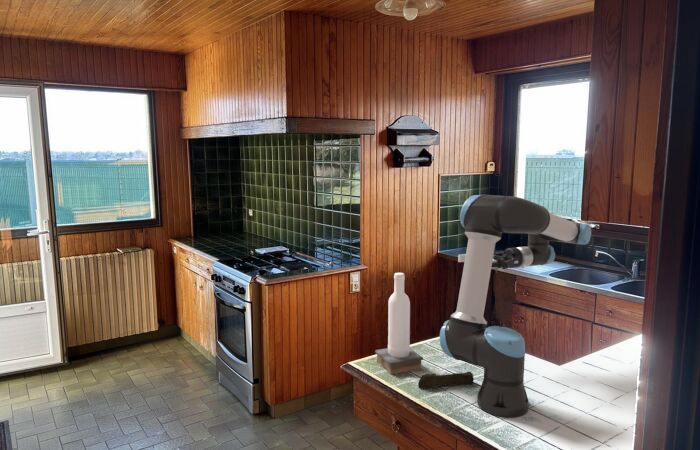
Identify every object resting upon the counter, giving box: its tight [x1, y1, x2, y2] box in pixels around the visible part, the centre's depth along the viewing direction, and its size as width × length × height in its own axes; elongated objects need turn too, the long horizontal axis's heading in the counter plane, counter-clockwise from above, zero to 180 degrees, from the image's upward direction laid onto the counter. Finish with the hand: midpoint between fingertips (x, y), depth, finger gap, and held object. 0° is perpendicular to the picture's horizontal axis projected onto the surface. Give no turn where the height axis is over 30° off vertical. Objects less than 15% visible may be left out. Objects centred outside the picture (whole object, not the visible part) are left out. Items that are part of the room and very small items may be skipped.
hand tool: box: [417, 371, 475, 389], centre depth 169 cm, size 19×4×5 cm, turn 100°
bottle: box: [387, 272, 411, 358], centre depth 183 cm, size 8×8×30 cm
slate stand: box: [374, 347, 424, 375], centre depth 185 cm, size 13×13×4 cm
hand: (469, 261), depth 183 cm, fingers open, 13 cm apart
